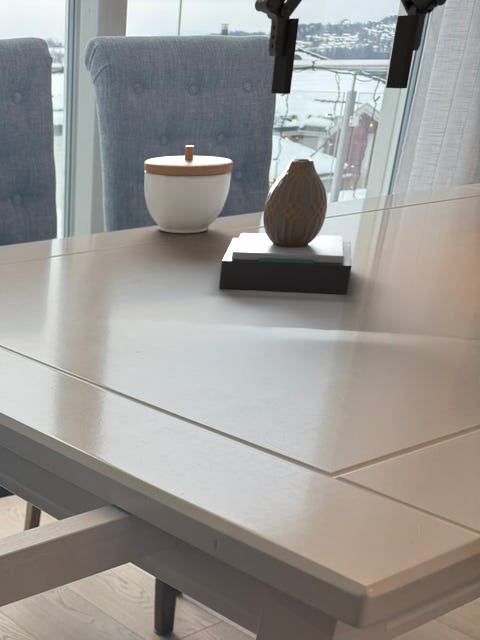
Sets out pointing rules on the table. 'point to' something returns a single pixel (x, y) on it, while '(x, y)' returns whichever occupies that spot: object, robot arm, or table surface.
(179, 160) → the lidded bowl
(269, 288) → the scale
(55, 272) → the table surface
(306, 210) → the vase
